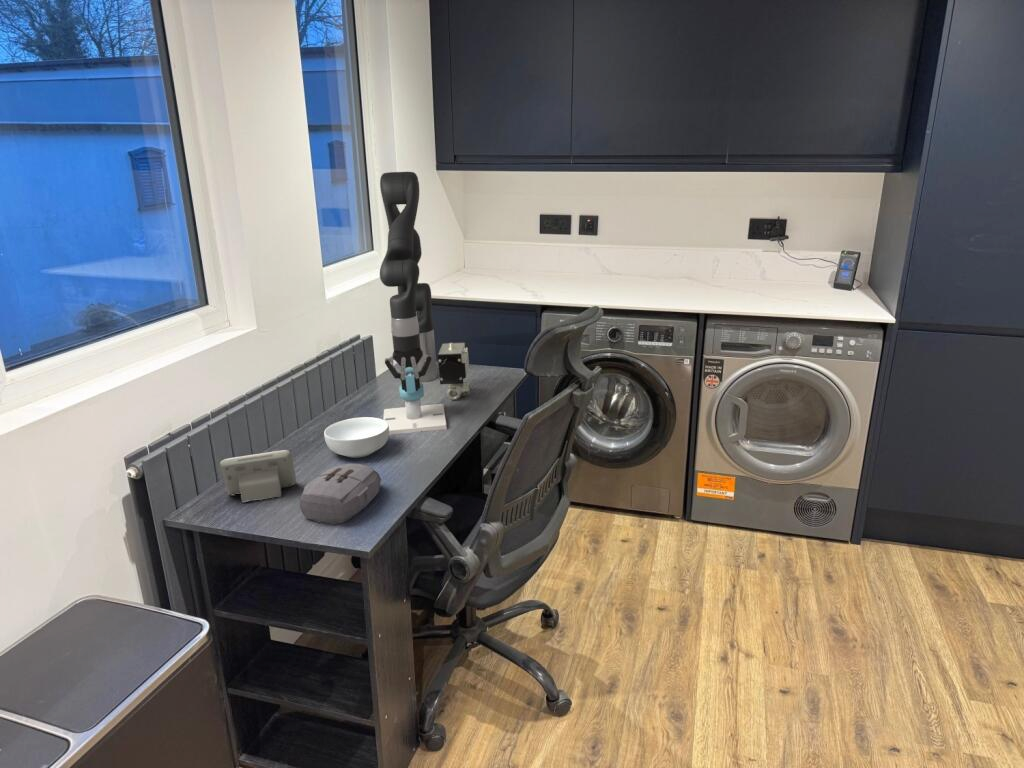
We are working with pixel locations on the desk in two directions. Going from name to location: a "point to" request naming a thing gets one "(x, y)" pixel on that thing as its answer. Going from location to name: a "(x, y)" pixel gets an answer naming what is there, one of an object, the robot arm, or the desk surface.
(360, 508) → the small grey backpack
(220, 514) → the desk surface
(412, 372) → the blue switch lever
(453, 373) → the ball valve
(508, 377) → the desk surface
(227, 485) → the digital clock
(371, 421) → the cereal bowl
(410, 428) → the base plate
